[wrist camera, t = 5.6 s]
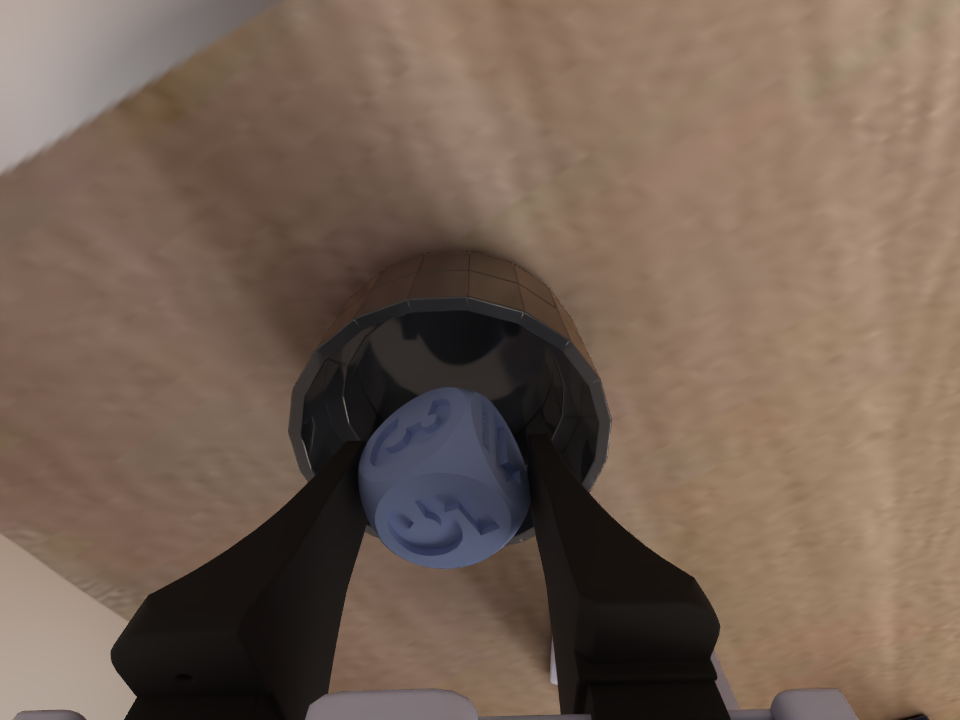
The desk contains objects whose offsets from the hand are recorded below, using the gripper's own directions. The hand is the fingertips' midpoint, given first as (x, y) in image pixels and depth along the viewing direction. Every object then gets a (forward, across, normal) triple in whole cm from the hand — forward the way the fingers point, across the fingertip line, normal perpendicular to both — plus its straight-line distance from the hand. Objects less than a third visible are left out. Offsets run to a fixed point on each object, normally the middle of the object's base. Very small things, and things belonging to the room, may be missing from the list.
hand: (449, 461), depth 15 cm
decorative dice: (+2, 0, 0) cm, 2 cm away
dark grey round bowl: (+6, 0, 0) cm, 6 cm away
